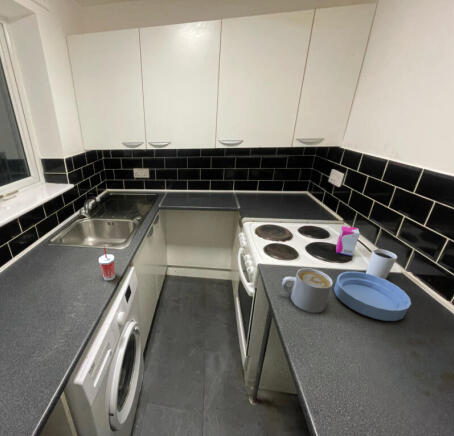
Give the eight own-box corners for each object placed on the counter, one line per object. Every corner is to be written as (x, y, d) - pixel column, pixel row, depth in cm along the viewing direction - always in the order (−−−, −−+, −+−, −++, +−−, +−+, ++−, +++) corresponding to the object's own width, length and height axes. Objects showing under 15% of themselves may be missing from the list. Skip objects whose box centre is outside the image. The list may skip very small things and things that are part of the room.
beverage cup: (117, 279, 92) (113, 250, 86) (102, 283, 90) (96, 253, 85) (116, 271, 97) (111, 242, 92) (101, 274, 96) (96, 245, 90)
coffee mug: (325, 297, 79) (333, 274, 75) (324, 317, 71) (332, 292, 67) (282, 284, 86) (287, 261, 82) (277, 300, 78) (282, 277, 74)
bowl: (387, 288, 81) (392, 277, 79) (418, 329, 66) (425, 317, 64) (327, 278, 88) (331, 267, 86) (342, 314, 72) (346, 301, 70)
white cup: (378, 270, 90) (387, 249, 86) (392, 282, 84) (402, 259, 80) (360, 270, 91) (368, 248, 87) (372, 281, 85) (381, 258, 81)
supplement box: (350, 250, 104) (358, 227, 99) (352, 256, 100) (360, 233, 95) (335, 247, 107) (342, 225, 102) (335, 253, 102) (343, 230, 98)
